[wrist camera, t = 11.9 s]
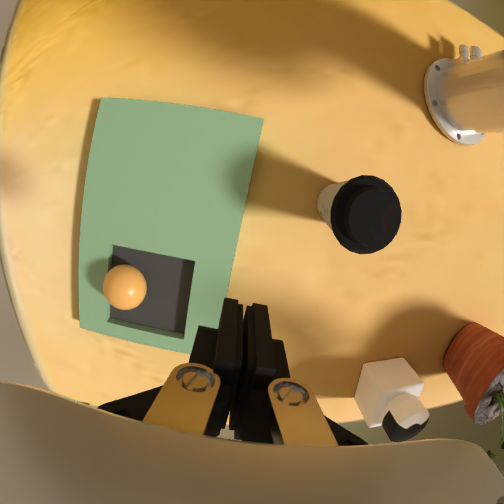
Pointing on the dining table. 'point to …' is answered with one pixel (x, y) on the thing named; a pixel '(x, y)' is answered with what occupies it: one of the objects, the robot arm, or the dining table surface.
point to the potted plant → (478, 373)
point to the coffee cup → (361, 213)
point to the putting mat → (163, 215)
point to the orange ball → (124, 287)
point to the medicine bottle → (392, 398)
